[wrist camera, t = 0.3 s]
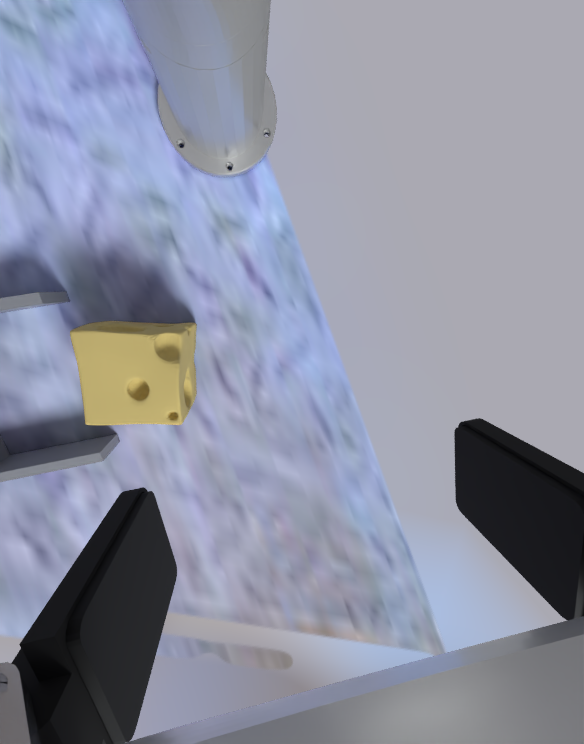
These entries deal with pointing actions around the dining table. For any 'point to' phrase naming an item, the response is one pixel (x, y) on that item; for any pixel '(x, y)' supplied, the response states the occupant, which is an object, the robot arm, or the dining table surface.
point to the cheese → (136, 371)
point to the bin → (56, 457)
